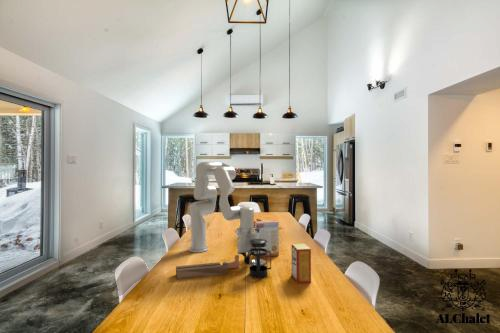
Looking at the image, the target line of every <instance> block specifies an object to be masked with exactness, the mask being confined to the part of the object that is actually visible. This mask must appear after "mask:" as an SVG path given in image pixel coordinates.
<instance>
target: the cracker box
mask: <svg viewBox="0 0 500 333" xmlns="http://www.w3.org/2000/svg"><path fill="white" fill-rule="evenodd" d="M256 228H260V229H262V230H261V231H259V239H265V240H267V243H266V246H265V247H262V248H263V249H266V250H267V251H271V257H277V256H280V242H279V240H280V238H279V233H280V232H279V230H280V228H279V221H278V220H277V219H275V220H254V229H256ZM254 232H255V233H256V239H258V233H257V231H256V230H254ZM256 253H257V252H256ZM260 253H265V252H264V251H260ZM262 257H266V258H267V257H270V252H267V255H265V256H260V258H262Z"/></svg>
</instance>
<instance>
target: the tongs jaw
mask: <svg viewBox="0 0 500 333" xmlns="http://www.w3.org/2000/svg"><path fill="white" fill-rule="evenodd" d="M214 265H221V262H219V261H216V262H209V263H207V262H206V263H197V264H187V265H179V266H177V265H176V266H175V276H176V277H177V269H184V268H194V267H204V266H214Z"/></svg>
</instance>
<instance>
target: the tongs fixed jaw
mask: <svg viewBox="0 0 500 333" xmlns="http://www.w3.org/2000/svg"><path fill="white" fill-rule="evenodd" d="M227 262H228V261H224V262H223V263H222V264H220V265H214V266H204V267H194V268H184V269H177V276H176V280H184V279H192V278H193V279H194V278H202V277H203V278H204V277H212V276H219V275H220V276H222V275H228V274H229V268H228V263H227Z"/></svg>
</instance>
